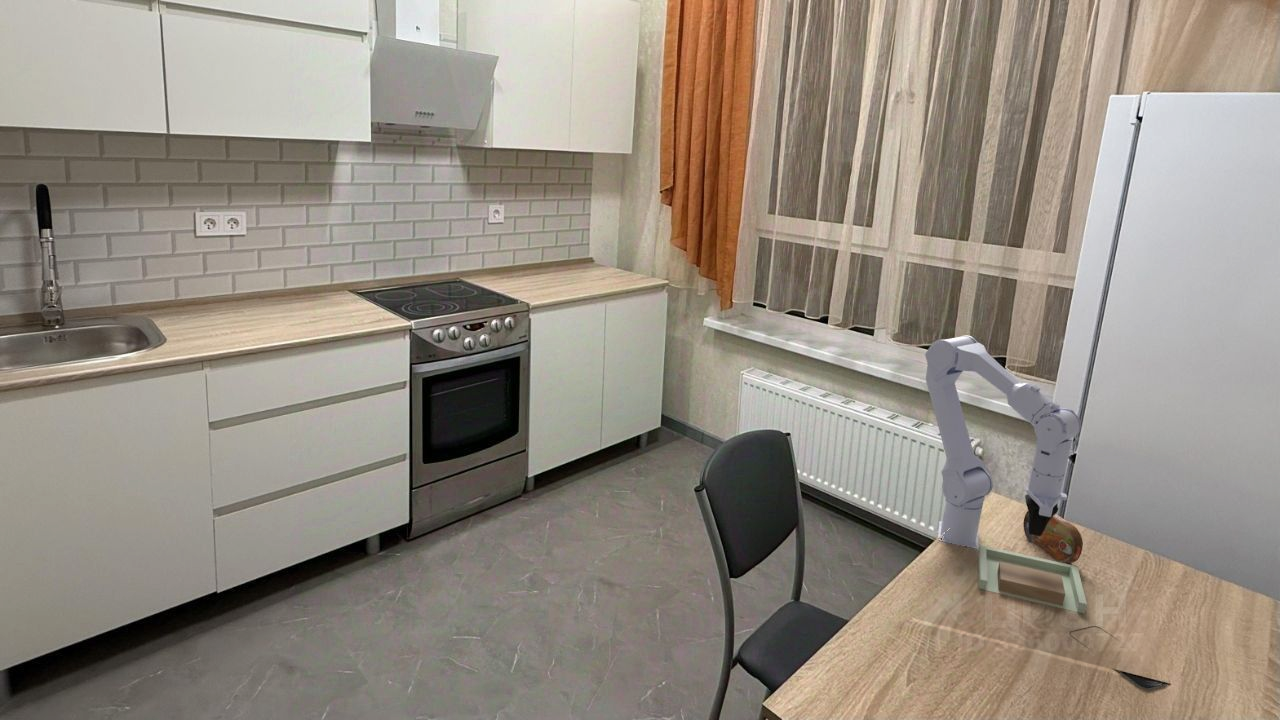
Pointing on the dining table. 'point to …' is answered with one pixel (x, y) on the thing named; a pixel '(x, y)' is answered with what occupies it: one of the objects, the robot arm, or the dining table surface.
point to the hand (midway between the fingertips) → (1034, 533)
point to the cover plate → (1031, 583)
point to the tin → (1057, 539)
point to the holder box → (1070, 573)
